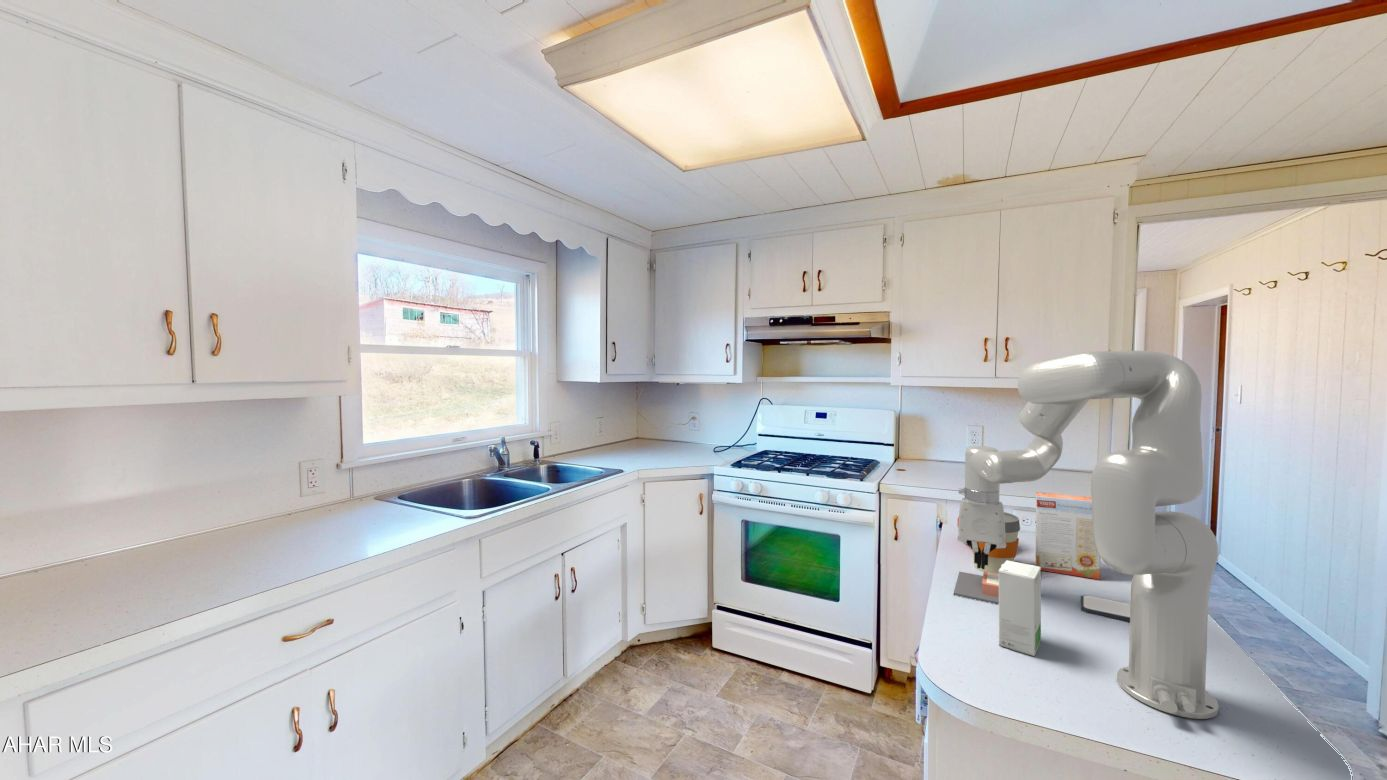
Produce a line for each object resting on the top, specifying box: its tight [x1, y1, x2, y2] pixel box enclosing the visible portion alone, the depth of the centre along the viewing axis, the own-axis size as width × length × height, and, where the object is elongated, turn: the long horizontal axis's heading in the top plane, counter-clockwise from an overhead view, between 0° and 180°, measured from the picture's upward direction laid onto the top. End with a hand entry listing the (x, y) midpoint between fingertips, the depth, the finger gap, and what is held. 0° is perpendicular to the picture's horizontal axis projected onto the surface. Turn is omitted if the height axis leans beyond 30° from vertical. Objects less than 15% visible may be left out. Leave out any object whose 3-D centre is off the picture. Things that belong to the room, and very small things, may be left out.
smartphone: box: [1080, 594, 1130, 624], centre depth 112 cm, size 9×2×16 cm
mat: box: [953, 571, 999, 605], centre depth 125 cm, size 15×15×1 cm
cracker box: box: [1035, 491, 1102, 580], centre depth 135 cm, size 14×6×21 cm, turn 58°
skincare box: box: [998, 560, 1042, 657], centre depth 101 cm, size 8×7×16 cm
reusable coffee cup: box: [969, 511, 1021, 573], centre depth 138 cm, size 13×13×15 cm
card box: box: [982, 571, 999, 597], centre depth 124 cm, size 9×3×7 cm
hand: (981, 566), depth 126 cm, fingers closed
